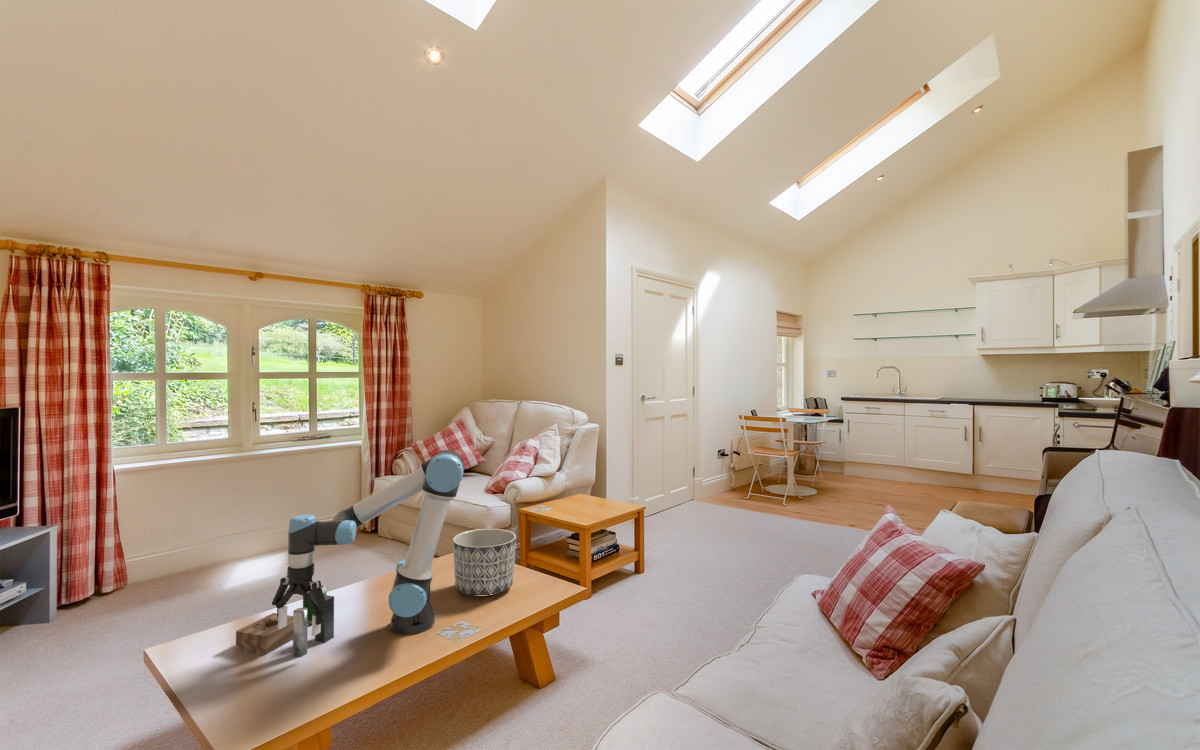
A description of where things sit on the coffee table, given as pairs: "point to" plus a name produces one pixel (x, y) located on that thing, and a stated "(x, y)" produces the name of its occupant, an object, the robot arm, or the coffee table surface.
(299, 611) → the cylinder
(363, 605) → the coffee table surface
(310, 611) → the soda can
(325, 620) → the square bit
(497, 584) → the planter
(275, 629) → the bore block
